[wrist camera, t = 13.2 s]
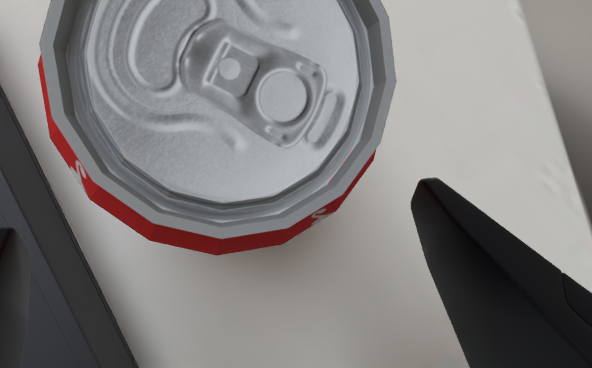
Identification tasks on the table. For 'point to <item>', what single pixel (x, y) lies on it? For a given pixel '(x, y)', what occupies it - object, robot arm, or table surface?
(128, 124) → the soda can
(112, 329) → the dark grey tray
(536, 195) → the table surface
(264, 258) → the table surface
